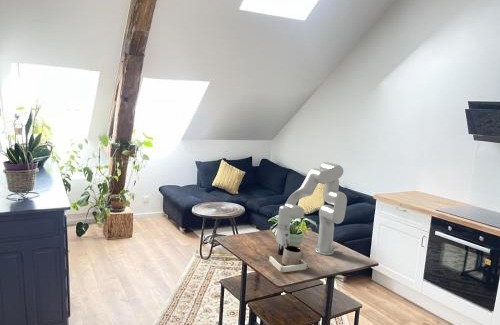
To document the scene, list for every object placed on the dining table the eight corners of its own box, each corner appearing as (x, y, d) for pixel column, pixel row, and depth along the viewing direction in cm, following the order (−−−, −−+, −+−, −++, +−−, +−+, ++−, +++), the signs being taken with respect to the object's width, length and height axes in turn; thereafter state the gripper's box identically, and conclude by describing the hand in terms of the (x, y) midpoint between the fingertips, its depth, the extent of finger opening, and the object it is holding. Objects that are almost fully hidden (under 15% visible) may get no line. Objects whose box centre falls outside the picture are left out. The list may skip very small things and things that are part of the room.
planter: (303, 266, 220) (305, 251, 219) (289, 268, 214) (291, 253, 212) (291, 258, 229) (294, 244, 227) (277, 260, 223) (280, 246, 221)
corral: (294, 258, 231) (294, 253, 231) (307, 269, 216) (308, 264, 216) (269, 261, 225) (269, 256, 224) (281, 272, 210) (281, 267, 209)
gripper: (294, 229, 218) (291, 259, 221) (283, 222, 232) (280, 250, 235) (283, 230, 216) (280, 260, 218) (273, 222, 229) (270, 250, 232)
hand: (280, 254), depth 226 cm, fingers closed
